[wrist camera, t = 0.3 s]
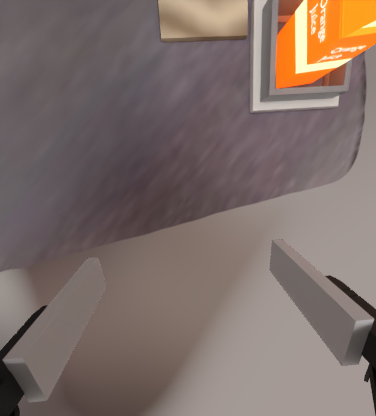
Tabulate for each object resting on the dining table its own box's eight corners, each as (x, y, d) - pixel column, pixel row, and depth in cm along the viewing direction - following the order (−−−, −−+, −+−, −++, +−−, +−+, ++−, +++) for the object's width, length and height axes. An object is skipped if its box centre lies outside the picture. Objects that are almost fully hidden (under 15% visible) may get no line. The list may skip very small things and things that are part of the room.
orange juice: (275, 88, 36) (393, -3, 17) (274, 37, 34) (406, -135, 14) (312, 83, 36) (470, -13, 17) (313, 32, 34) (494, -146, 15)
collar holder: (250, 6, 32) (264, -22, 28) (343, 4, 33) (371, -24, 29) (249, 113, 37) (260, 104, 32) (331, 108, 38) (354, 99, 33)
